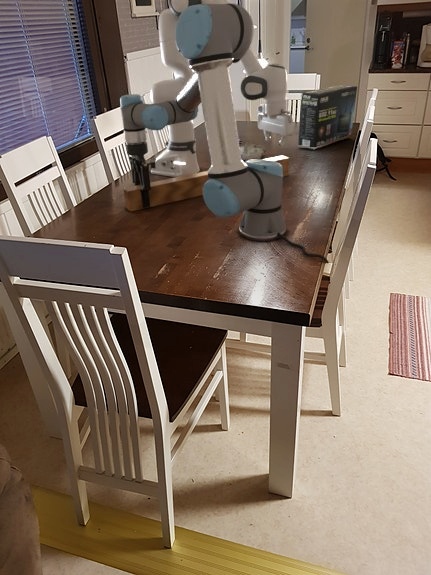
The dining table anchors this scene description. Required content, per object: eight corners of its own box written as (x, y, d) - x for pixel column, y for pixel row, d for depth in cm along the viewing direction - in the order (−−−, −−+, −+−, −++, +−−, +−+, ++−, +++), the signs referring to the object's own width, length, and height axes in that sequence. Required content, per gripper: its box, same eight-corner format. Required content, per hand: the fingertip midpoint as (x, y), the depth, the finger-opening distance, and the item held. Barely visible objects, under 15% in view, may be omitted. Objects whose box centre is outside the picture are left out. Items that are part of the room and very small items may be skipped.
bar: (130, 211, 170) (127, 191, 165) (126, 207, 173) (123, 188, 169) (288, 175, 200) (288, 157, 195) (281, 173, 203) (282, 155, 199)
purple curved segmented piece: (221, 137, 264) (220, 133, 263) (234, 136, 265) (233, 132, 264) (228, 145, 247) (228, 142, 246) (242, 144, 248) (242, 140, 247)
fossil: (256, 156, 213) (234, 135, 216) (244, 175, 219) (223, 154, 222) (274, 153, 226) (253, 134, 229) (261, 171, 233) (241, 152, 236)
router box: (314, 151, 231) (318, 94, 217) (296, 148, 237) (299, 92, 224) (352, 138, 251) (358, 85, 238) (335, 135, 258) (340, 83, 245)
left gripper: (298, 110, 178) (296, 146, 184) (267, 104, 193) (266, 138, 200) (285, 112, 175) (284, 149, 182) (254, 106, 190) (254, 140, 197)
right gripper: (156, 145, 156) (162, 209, 168) (136, 135, 170) (144, 196, 182) (135, 148, 153) (143, 214, 165) (117, 138, 167) (126, 200, 179)
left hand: (274, 143), depth 191 cm, fingers open, 8 cm apart
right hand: (143, 204), depth 174 cm, fingers closed on bar, 5 cm apart
